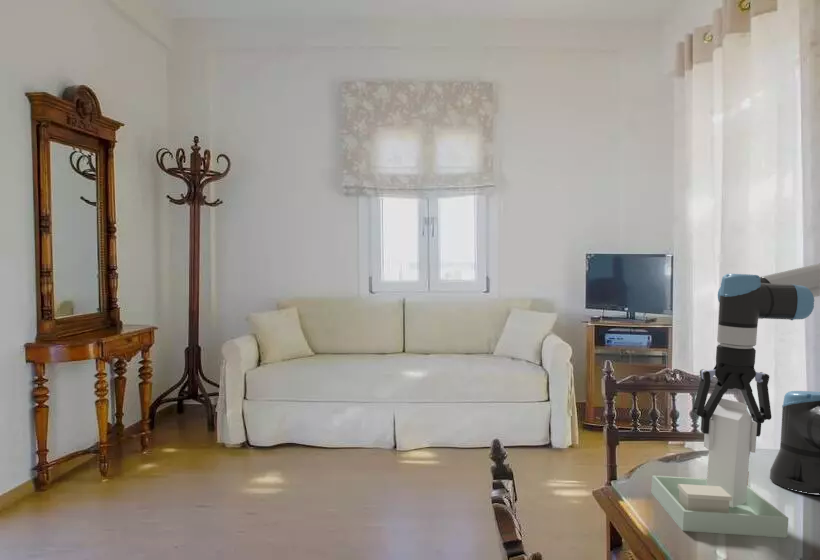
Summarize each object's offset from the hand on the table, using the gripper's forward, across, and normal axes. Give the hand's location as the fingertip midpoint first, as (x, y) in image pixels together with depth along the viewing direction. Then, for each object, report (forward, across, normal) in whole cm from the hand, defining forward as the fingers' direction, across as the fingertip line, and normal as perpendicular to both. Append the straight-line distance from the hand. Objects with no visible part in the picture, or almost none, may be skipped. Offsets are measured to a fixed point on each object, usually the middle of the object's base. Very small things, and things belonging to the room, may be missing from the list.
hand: (729, 449), depth 139 cm
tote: (+13, +4, +4) cm, 14 cm away
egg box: (+13, +9, +10) cm, 18 cm away
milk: (+11, 0, 0) cm, 11 cm away
